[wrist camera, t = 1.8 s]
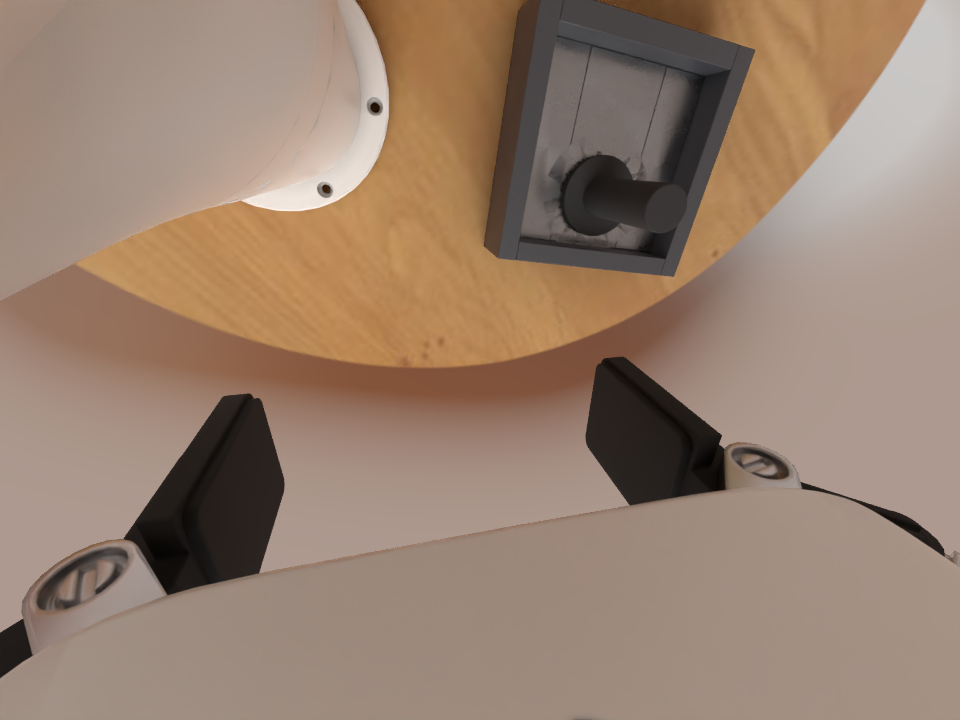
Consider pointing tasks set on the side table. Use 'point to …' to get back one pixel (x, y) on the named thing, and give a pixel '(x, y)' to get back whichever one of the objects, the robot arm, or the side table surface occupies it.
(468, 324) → the side table surface
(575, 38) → the sink basin
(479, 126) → the side table surface
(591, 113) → the plate
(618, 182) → the plug
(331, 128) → the robot arm
